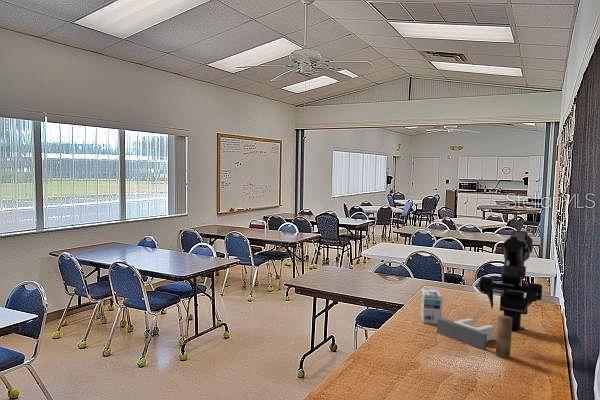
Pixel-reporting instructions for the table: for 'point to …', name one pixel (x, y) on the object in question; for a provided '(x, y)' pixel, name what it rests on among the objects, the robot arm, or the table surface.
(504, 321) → the dowel
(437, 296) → the light bulb box
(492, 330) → the socket block
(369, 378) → the table surface
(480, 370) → the table surface
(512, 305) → the robot arm
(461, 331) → the backstop wall
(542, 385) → the table surface
